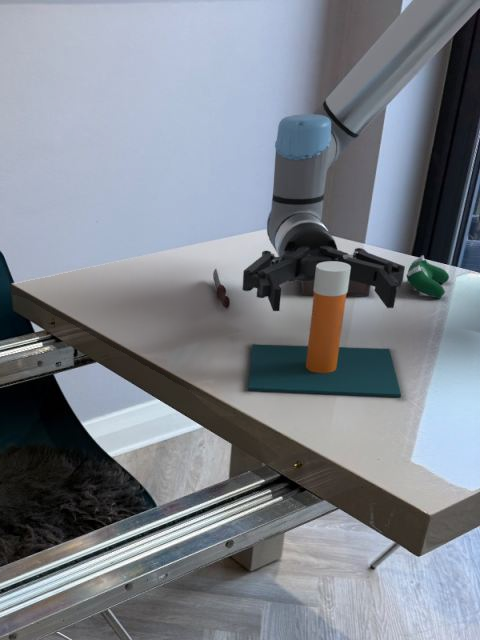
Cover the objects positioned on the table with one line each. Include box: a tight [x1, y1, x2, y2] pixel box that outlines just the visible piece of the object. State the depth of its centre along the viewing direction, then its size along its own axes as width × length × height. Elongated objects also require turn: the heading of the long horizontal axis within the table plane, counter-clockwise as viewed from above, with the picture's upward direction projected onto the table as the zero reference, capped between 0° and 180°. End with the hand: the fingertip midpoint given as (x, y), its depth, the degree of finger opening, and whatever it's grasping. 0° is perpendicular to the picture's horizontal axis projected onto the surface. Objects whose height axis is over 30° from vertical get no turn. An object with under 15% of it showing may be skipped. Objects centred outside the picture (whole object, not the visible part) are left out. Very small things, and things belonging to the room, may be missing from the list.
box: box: [301, 280, 371, 297], centre depth 127 cm, size 10×10×3 cm
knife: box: [212, 268, 231, 310], centre depth 125 cm, size 18×2×3 cm, turn 179°
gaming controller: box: [406, 254, 450, 299], centre depth 123 cm, size 9×4×6 cm
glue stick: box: [306, 261, 351, 373], centre depth 97 cm, size 4×4×13 cm
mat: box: [247, 343, 402, 398], centre depth 101 cm, size 18×14×1 cm
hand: (334, 298), depth 94 cm, fingers open, 13 cm apart
